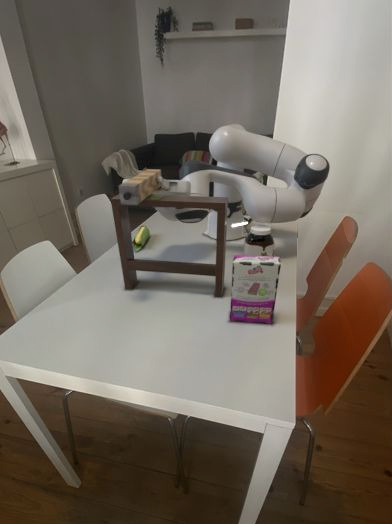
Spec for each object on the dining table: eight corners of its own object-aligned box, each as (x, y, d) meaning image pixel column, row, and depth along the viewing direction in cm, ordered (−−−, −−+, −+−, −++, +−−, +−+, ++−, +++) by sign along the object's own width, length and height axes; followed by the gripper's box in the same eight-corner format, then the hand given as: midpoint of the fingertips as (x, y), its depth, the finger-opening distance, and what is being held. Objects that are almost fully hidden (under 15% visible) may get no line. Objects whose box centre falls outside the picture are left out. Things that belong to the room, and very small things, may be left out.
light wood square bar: (148, 184, 92) (147, 169, 90) (162, 185, 91) (161, 169, 89) (119, 205, 74) (116, 186, 72) (135, 206, 74) (133, 187, 71)
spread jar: (244, 265, 112) (247, 231, 104) (240, 253, 121) (242, 221, 113) (278, 264, 112) (284, 231, 105) (271, 252, 121) (276, 221, 114)
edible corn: (151, 235, 138) (150, 224, 135) (143, 252, 122) (142, 240, 120) (139, 234, 138) (138, 224, 136) (130, 252, 123) (128, 240, 120)
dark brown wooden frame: (131, 280, 103) (118, 192, 87) (223, 287, 98) (228, 196, 82) (125, 289, 98) (110, 198, 82) (221, 297, 94) (225, 202, 78)
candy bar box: (271, 314, 86) (280, 255, 76) (272, 324, 82) (282, 264, 72) (229, 311, 87) (233, 253, 77) (228, 321, 83) (232, 261, 73)
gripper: (131, 184, 101) (113, 166, 87) (195, 186, 98) (186, 167, 84) (130, 205, 102) (112, 190, 88) (193, 208, 99) (184, 192, 85)
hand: (149, 179), depth 86 cm, fingers closed on light wood square bar, 4 cm apart
